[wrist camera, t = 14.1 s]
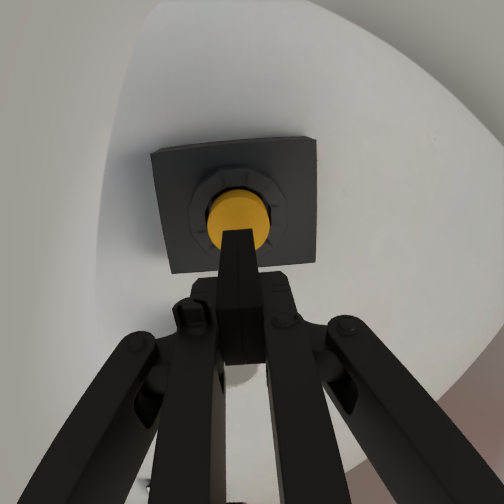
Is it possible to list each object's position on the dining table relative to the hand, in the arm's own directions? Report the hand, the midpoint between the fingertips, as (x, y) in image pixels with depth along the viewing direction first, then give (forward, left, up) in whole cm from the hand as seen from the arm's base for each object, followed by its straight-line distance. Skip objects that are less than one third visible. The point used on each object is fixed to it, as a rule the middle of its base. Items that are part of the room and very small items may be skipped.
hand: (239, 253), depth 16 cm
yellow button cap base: (0, 0, -10) cm, 10 cm away
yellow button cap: (0, 0, -6) cm, 6 cm away
